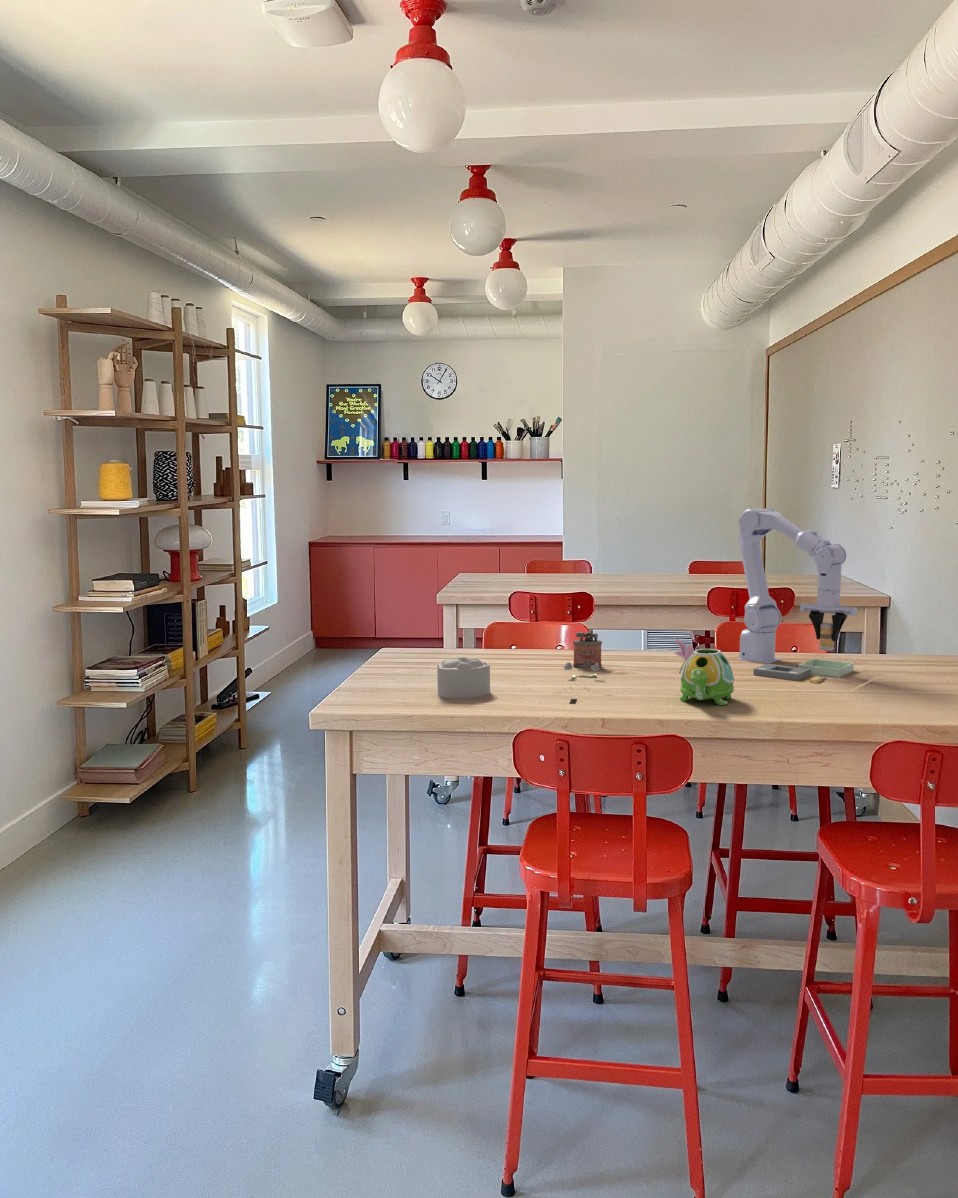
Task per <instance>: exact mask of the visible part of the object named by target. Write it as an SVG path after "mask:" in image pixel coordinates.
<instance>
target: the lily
mask: <svg viewBox="0 0 958 1198" xmlns="http://www.w3.org/2000/svg"><path fill="white" fill-rule="evenodd" d="M674 640H675V642H676V644H677V645H678V647H679V649H680V650H677V651H675V652H674V654H675V655H676V656H678V657H681V658H682V659H683V660H684V661H683V663H682V665H681V668H680V669H679V674H681V673H682V670H683V667H684V665H685V663H686V661H687V660H688V658H689V657H690V656H691V655H692V654H694V651H695V650H694V647H693V645H692V644H690V643H689V644H687V645H686V644H685V643H684V642H682V640H679V639H678V638H674Z"/></svg>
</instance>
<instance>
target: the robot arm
mask: <svg viewBox="0 0 958 1198" xmlns="http://www.w3.org/2000/svg"><path fill="white" fill-rule="evenodd" d="M737 521H738V525H739V527H738V528H739V535H738V544H739V551H740V554H741V555H740V556H741V560H742V561H741V562H742V566H743V570H744V577H745V581H746V586H747V592H748V597H749V599H748V600H747V602H746V604H745V605H744V617H743V618H744V619H743V622H744V625H745V626H746V628H745V629H742V631H741V633H740V636H739V637H740V638H739V658H737V660H738V661H745V662H755V663H760V664H761V663H762V664H772V663H775V662H776V661H779V660H781V658H778V657H776V632H777V630H778V627H779V626H780V625H781V622H782V619H783V618H782V616H783V615H782V612H781V611H780V609H779V608H778V605H777V601H776V600H775V599H773V598H772V597H771V596H770V593H769V587H768V582H767V577H766V571H765V568H764V567H765V566H764V562H763V556H762V551H761V546H760V542H761V541H762V540H763V538H764V537H765V536H766V535H768V534H769V533H770V532H771V531H773V530H775V531H776V532H779V533H781V534H782V535H783V536H786V537H788V538H789V539H791V540H792V541H795V544H796V545H795V546H796V547H797V548H798V549H799V550H800V551H801V552H804V553H805V554H806V555H808V556H809V557H811V558H813V560H814V562H815V564H816V569H817V575H818V576H817V594H816V595H817V599H816V600H817V601H816V604H815V603H800V605H799V607H800V610H799V611H800V612H809V614H808V617H809V619H810V621H811V623H812V625H813V628H814V633H815V638H816V640H820V623H824V616H825V614H833V615H831V621H832V622H831V623H833V634H832V641H834V642H837V641H838V640H839V636H840V632H841V629H842V627H843V625H844V624H845V621H846V620H847V618H848V616H851V617H852V616H858V607H851V606H843V605H841V604H840V603H841V585H842V583H841V581H842V565H843V563H845V561H846V559H847V552H846V550H845V548H844V547H843V546H842V545H841V544H840V543H834V544H832V543H831V541H830V540H829V539H824V538H823V537H822V536H820V535H818V531H816V530H815V529H812V530H811V529H807V530H802V528H800V527H798V526H797V525H795V523H793V522H791V521H790V520H789V519H788V518H786V517H784V516H783V515H782V514H781V512H779V511H776V510H775V509H773V508H771V507H768V508H747V509H745V510H743V512H742V513H741V515H740V516H739V518H738V519H737Z"/></svg>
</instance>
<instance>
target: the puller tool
mask: <svg viewBox="0 0 958 1198" xmlns="http://www.w3.org/2000/svg"><path fill="white" fill-rule="evenodd" d="M826 679H827V676H822V675H819V676H814V677H811V678H809V683H812V684H819V683H821V682H822V681H824V680H826Z"/></svg>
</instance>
